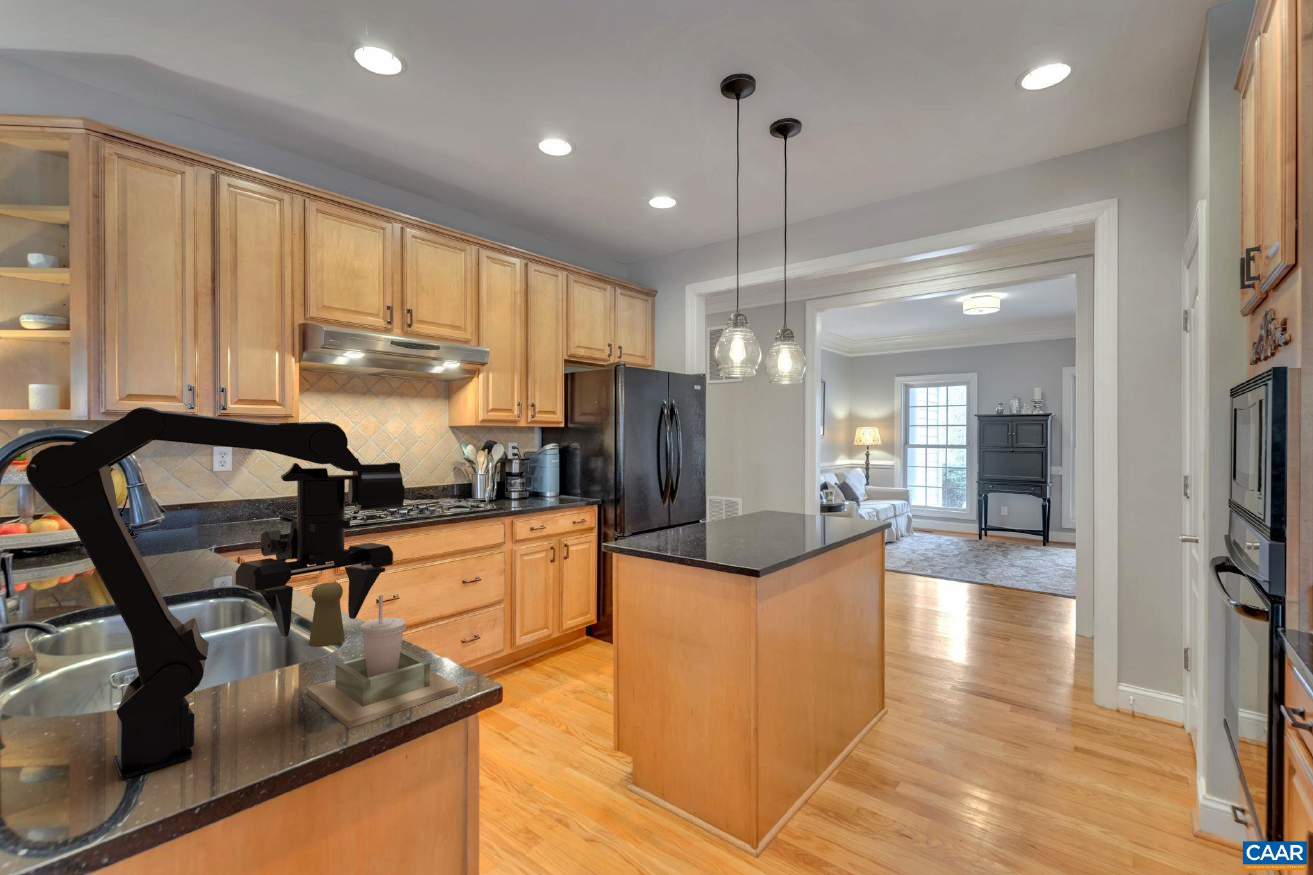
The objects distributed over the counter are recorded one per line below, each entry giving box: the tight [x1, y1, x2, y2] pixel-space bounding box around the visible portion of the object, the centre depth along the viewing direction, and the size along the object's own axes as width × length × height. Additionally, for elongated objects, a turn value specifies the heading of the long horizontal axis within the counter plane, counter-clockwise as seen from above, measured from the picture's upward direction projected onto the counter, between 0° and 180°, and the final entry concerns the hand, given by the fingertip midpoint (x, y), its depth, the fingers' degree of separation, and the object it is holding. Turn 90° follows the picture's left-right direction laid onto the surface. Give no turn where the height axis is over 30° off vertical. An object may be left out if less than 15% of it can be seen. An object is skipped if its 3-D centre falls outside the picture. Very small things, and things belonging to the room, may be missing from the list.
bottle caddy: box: [306, 647, 459, 729], centre depth 92 cm, size 16×16×4 cm
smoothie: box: [359, 595, 407, 678], centre depth 91 cm, size 6×6×14 cm
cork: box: [308, 582, 346, 648], centre depth 115 cm, size 6×6×11 cm
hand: (320, 626), depth 82 cm, fingers open, 9 cm apart
